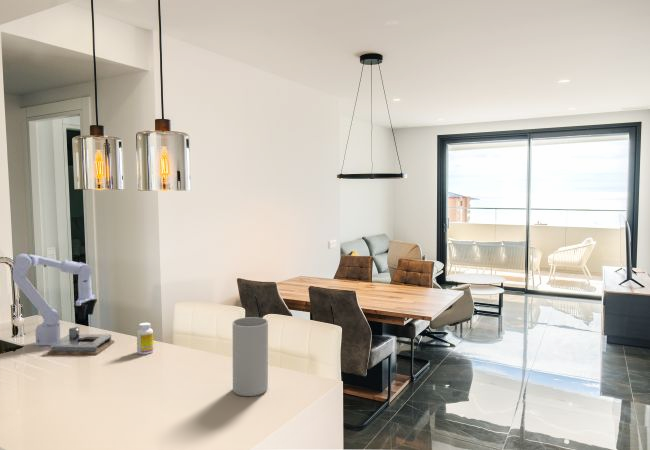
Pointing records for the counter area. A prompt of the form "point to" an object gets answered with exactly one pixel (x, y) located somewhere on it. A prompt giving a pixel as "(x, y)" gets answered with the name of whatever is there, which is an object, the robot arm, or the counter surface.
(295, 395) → the counter surface
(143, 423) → the counter surface
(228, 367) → the counter surface
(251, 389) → the cylinder vase
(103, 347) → the keyhole board
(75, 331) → the dark grey knob
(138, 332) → the supplement bottle
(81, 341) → the keyhole plate
